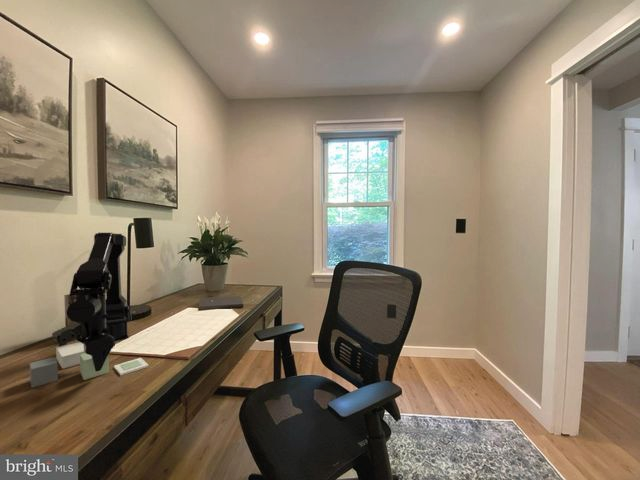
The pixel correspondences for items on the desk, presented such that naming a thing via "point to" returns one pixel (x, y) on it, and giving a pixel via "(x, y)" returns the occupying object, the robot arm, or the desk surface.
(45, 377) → the slate cube
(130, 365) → the card
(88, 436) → the desk surface
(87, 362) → the sage cube
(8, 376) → the desk surface
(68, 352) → the plinth
